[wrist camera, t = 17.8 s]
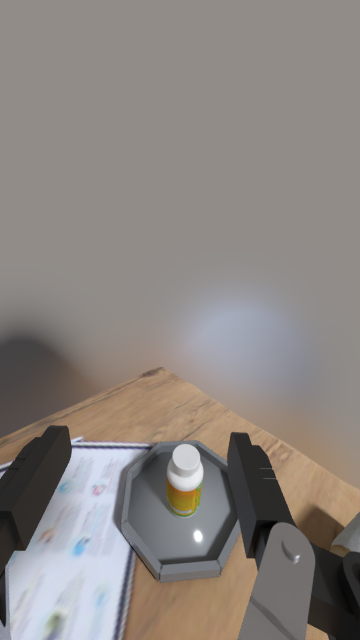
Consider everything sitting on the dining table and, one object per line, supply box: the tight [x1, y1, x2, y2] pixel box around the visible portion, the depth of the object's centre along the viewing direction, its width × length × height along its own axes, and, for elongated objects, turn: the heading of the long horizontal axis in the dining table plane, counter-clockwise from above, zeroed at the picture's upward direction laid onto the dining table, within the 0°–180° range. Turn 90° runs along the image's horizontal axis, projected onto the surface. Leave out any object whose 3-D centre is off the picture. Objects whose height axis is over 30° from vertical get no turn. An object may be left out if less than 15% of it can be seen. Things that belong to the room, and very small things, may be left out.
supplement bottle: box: [166, 444, 203, 518], centre depth 33 cm, size 5×5×10 cm
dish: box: [121, 440, 241, 583], centre depth 35 cm, size 18×18×2 cm
